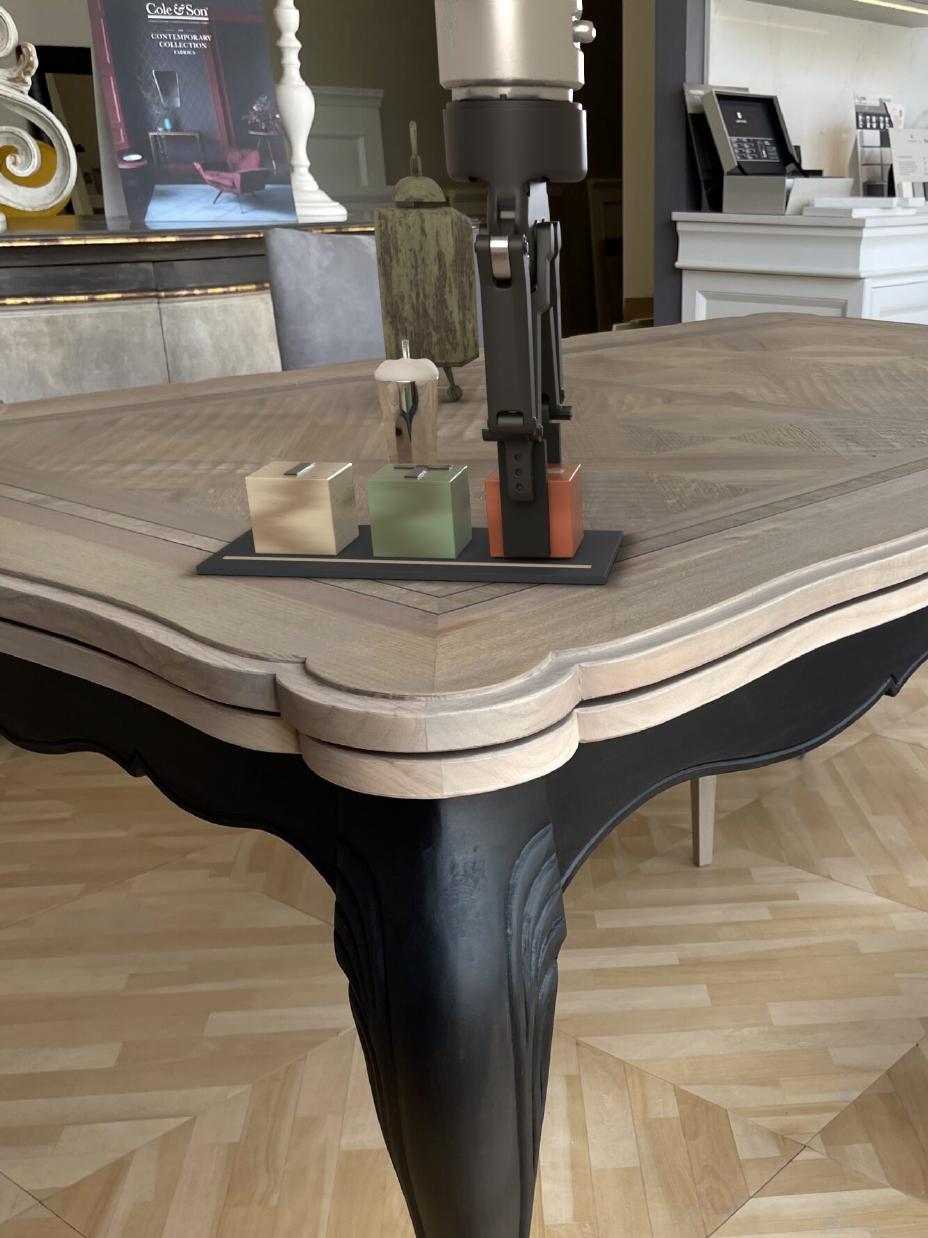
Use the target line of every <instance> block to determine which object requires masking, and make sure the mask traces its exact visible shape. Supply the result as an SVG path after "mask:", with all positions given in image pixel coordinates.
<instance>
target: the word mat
mask: <svg viewBox="0 0 928 1238" xmlns="http://www.w3.org/2000/svg"><path fill="white" fill-rule="evenodd" d="M471 527H472V539H471V540H470V542H469V543H468V544H467V545H466V546H465V548H464V549H463V550H462V551H461V553H460V554H459V555H458V556H457V557H456V558H455V559H448V558H407V557H374V556H373V546H372V537H371V527H370V524H358V529H359V536H358V537H357V538H356V539H354V540H353V541H352V542H351V543H350V544H349V545H348V546H346V547H345V548H344V549H343V550H342V551H341V552H340V553H338V554H337V555H297V554H257V553H256V552H255V545H254V538H253V531H252V527H251V528H250V529H249V530H247V531H245V532H244V533H243V534H241V535H240V536H238V537H236V538H235V539H234V540H232V541H231V542H229V543H228V544H226V545H224V546H223V547H222V548H220V549H219V550H217V551H216V552H214V553H213V554H212V555H210V556H209V557H207V558H205V559H204V560H203V561H201V562H200V563H198V564H197V565H195V569H196V574H197V575H217V576H219V575H220V576H253V577H255V576H256V577H292V578H293V577H295V578H297V577H298V578H327V579H329V578H330V579H331V578H332V579H333V578H335V579H341V578H342V579H367V580H368V579H370V580H372V579H373V580H375V579H376V580H406V581H407V580H410V581H413V580H414V581H445V582H446V581H447V582H449V581H451V582H492V583H525V584H526V583H528V584H563V585H564V584H565V585H566V584H567V585H600V586H601V585H603V586H604V585H606V581H607V578H608V576H609V575H610V571H611V570H612V566H613V564H614V562H615V559H616V557H617V554H618V552H619V549H620V547H621V545H622V543H623V539H624V531H623V530H608V529H607V530H606V529H605V530H603V529H583V531H584V537H583V539H582V541H581V543H580V545H579V547H578V549H577V551H576V553H575V555H574V556H573V557H572V558H548V557H491V556H490V545H489V532H488V527H479V526H478V527H477V526H476V527H473V526H471Z"/></svg>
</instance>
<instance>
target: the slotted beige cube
mask: <svg viewBox="0 0 928 1238" xmlns="http://www.w3.org/2000/svg"><path fill="white" fill-rule="evenodd" d="M353 473H354V472H353V465H352V463H351V462H338V461H337V462H333V461H331V462H330V461H326V462H325V461H289V460H288V461H286V460H285V461H283V460H272V461H271V462H269V463H268V464H266V465H264V466H262V467H261V468H259V469H257V470H255V471H253V472H252V473H250V474H248V475H246V476H245V477H244V482H245V489H246V495H247V503H248V510H249V517H250V524H251V528H252V531H253V538H254V545H255V552H256V553H257V554H297V555H337V554H338V553H340V552H341V551H342V550H343V549H344V548H345V547H346V546H348V545H349V544H350V543H351V542H352V541H353V540H354V539H356V538H357V537H358V536H359V529H358V525H359V520H358V511H357V503H356V493H355V492H356V491H355V483H354V474H353Z"/></svg>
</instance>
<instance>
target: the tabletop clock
mask: <svg viewBox="0 0 928 1238" xmlns="http://www.w3.org/2000/svg"><path fill="white" fill-rule="evenodd" d="M408 127H409V128H408V129H409V136H410V137H409V138H410V144H411V156H409V168H410V175H408V176H405V177H401V179H399V180H398V181H397V183H396V184H395V185H394V187H393V190H392V192H391V197H390V202H412V203H413V206H382V205H381V206H379V205H377V206H376V205H375V206H374V207H373V208H374V209H373V229H374V230H373V231H374V243H375V253H376V254H375V255H376V267H377V279H378V290H379V300H380V310H381V311H380V312H381V321H382V333H383V342H384V352H385V361H386V360H399V359H401V358H403V345H402V340H409V352H410V359H429V360H430V361H432V362H433V363H434V365H435V366H436V367H437V369H438V368H442V369H443V372H444V374H445V377H446V379H447V381H448V384H449V386H448V388H447V391H446V394H447V396H448V398H449V399H450V400H451V401H454V402H459V401H460V400H461V399H463V396H464V390H463V388H462V387H461V386H460V385H459V384H456V381H455V378H454V372H453V369H452V368H463V367H465V366H467V365H468V364H470V363H471V362H473V361H475V360H476V359H479V358H480V337H479V335H480V334H479V317H478V299H477V282H476V266H475V263H476V262H475V250H474V233H473V231H474V230H473V223H472V219H471V217H469V216H467V215H466V214H464V213H462V212H460V211H459V210H457V209H455V208H454V207H453V206H424V203H426V202H428V203H429V202H430V203H431V202H446V201H447V200H446V197H445V194H444V192H443V190H442V188H441V187H440V185H439V184H438V183H437V182H436V181H435V180H434V179H433V178H430V177H427V176H425V175H423V172H422V169H423V168H422V158H421V156H420V155H418V133H417V131H418V130H417V123H416V122H415V121H414V120H410V121H409V124H408Z"/></svg>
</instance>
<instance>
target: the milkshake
mask: <svg viewBox="0 0 928 1238" xmlns="http://www.w3.org/2000/svg"><path fill="white" fill-rule="evenodd" d="M402 345H403V358H401V359H399V360H386V359H385V360H384V361H382V362H381V364H379V366H378V367H377V368H376V370H375V371H374V376H373V377H374V380H375V386H376V390H377V396H378V402H379V407H380V411H381V416H382V422H383V427H384V432H385V439H386V446H387V451H388V458H389V463H393V464H438V416H439V415H438V414H439V388H440V387H439V386H440V385H439V383H440V373H439V369H438V368H437V367H436V366H435V365H434V363H433V362H432V361H430V360H429V359H410V352H409V340H402Z"/></svg>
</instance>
